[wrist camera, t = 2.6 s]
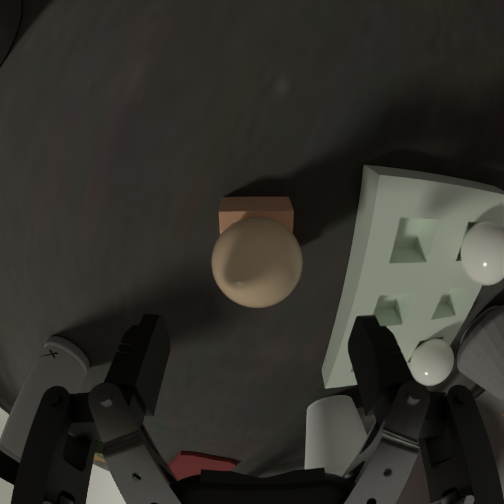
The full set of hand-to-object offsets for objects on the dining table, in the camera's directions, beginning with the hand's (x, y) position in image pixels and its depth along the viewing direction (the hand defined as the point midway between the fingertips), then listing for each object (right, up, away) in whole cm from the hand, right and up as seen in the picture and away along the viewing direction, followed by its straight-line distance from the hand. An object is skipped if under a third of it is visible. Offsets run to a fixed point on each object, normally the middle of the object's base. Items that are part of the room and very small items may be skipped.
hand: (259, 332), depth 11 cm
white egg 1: (+17, -6, +12) cm, 22 cm away
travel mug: (-23, -9, +16) cm, 29 cm away
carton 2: (-14, -47, +39) cm, 62 cm away
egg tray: (+14, 0, +11) cm, 18 cm away
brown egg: (0, +4, +6) cm, 7 cm away
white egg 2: (+17, +4, +6) cm, 19 cm away
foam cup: (+10, -17, +21) cm, 29 cm away
